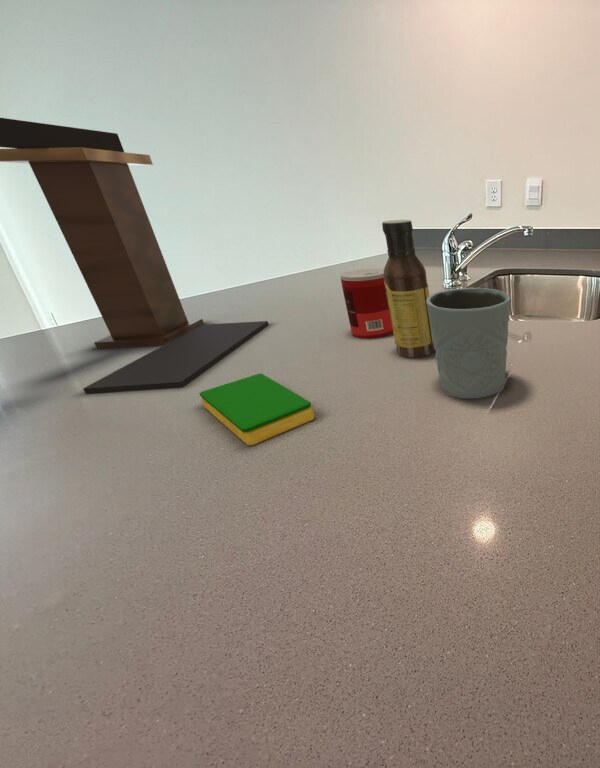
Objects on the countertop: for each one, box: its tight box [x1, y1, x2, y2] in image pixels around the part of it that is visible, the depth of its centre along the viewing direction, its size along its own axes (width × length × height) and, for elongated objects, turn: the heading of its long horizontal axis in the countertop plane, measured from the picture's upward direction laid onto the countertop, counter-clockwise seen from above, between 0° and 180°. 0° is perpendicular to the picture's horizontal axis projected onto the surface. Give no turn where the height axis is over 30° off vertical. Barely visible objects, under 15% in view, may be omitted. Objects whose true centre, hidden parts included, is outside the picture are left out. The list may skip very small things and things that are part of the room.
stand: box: [0, 148, 205, 350], centre depth 69 cm, size 14×12×30 cm
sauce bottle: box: [381, 219, 436, 358], centre depth 61 cm, size 6×6×20 cm
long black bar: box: [0, 117, 125, 152], centre depth 56 cm, size 24×4×3 cm, turn 0°
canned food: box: [340, 268, 394, 339], centre depth 72 cm, size 8×8×11 cm
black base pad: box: [82, 320, 270, 395], centre depth 67 cm, size 28×12×1 cm, turn 7°
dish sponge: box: [199, 373, 315, 446], centre depth 48 cm, size 7×14×2 cm, turn 51°
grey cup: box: [426, 287, 511, 400], centre depth 51 cm, size 10×10×12 cm
